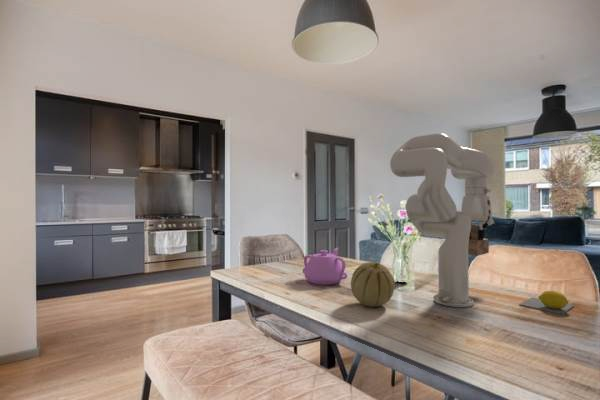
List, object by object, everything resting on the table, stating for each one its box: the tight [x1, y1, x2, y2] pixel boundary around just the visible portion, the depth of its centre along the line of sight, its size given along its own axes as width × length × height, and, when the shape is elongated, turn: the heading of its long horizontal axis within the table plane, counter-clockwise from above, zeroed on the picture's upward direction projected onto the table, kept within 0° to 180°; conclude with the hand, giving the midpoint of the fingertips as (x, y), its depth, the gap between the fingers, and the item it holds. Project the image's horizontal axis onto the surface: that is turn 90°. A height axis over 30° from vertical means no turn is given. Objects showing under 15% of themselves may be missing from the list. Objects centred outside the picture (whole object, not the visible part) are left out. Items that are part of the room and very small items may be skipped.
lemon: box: [538, 290, 569, 309], centre depth 112 cm, size 6×6×8 cm
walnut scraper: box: [468, 224, 490, 257], centre depth 136 cm, size 10×5×11 cm, turn 129°
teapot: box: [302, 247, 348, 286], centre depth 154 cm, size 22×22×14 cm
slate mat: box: [518, 297, 574, 315], centre depth 116 cm, size 12×12×1 cm
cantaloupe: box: [350, 261, 395, 308], centre depth 118 cm, size 15×15×15 cm
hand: (476, 239), depth 136 cm, fingers closed on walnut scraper, 3 cm apart
